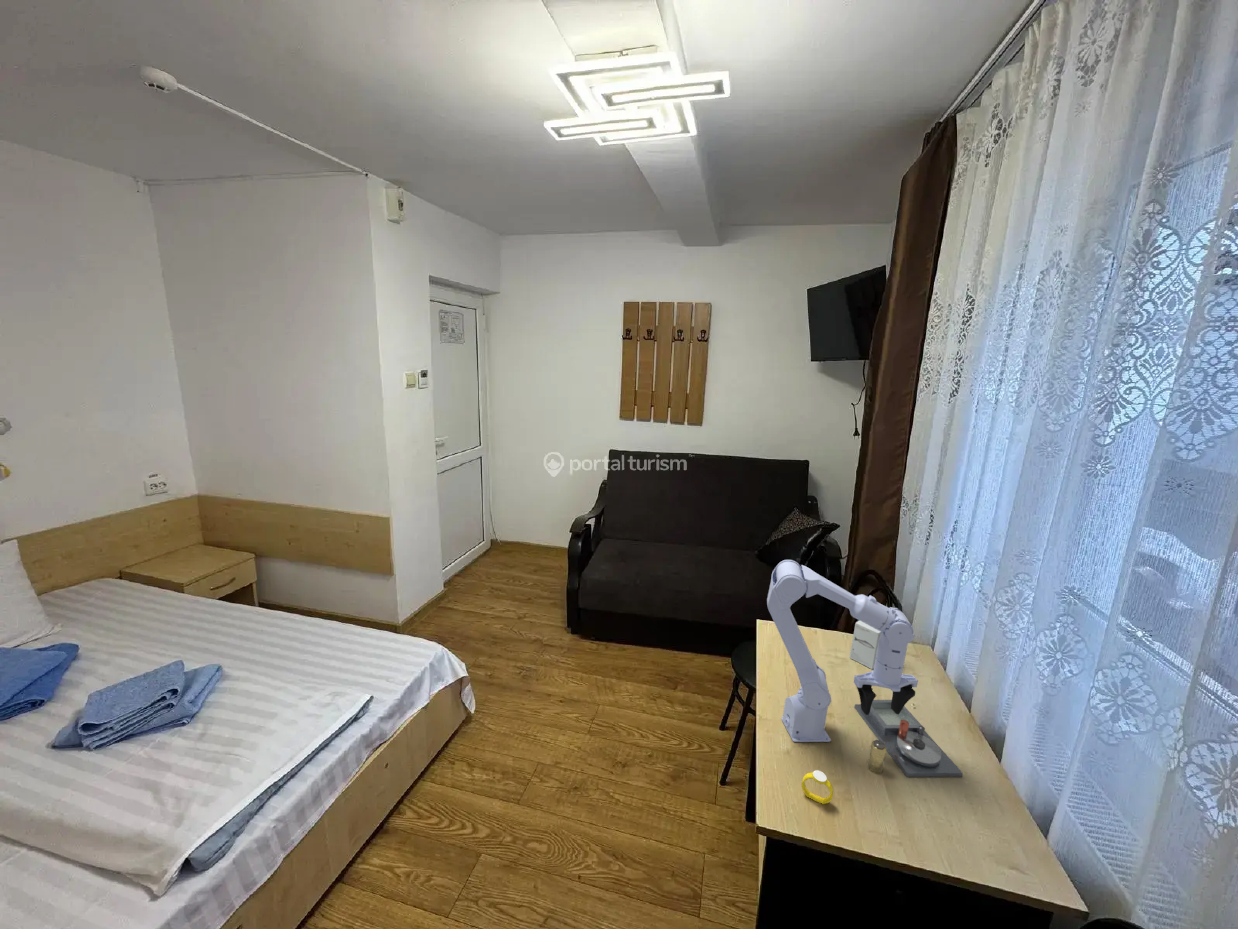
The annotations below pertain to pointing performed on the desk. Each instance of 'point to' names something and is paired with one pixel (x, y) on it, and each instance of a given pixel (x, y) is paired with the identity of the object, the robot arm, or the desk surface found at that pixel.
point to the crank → (917, 746)
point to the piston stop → (876, 756)
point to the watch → (820, 779)
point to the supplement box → (865, 644)
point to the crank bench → (886, 731)
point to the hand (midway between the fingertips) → (879, 711)
